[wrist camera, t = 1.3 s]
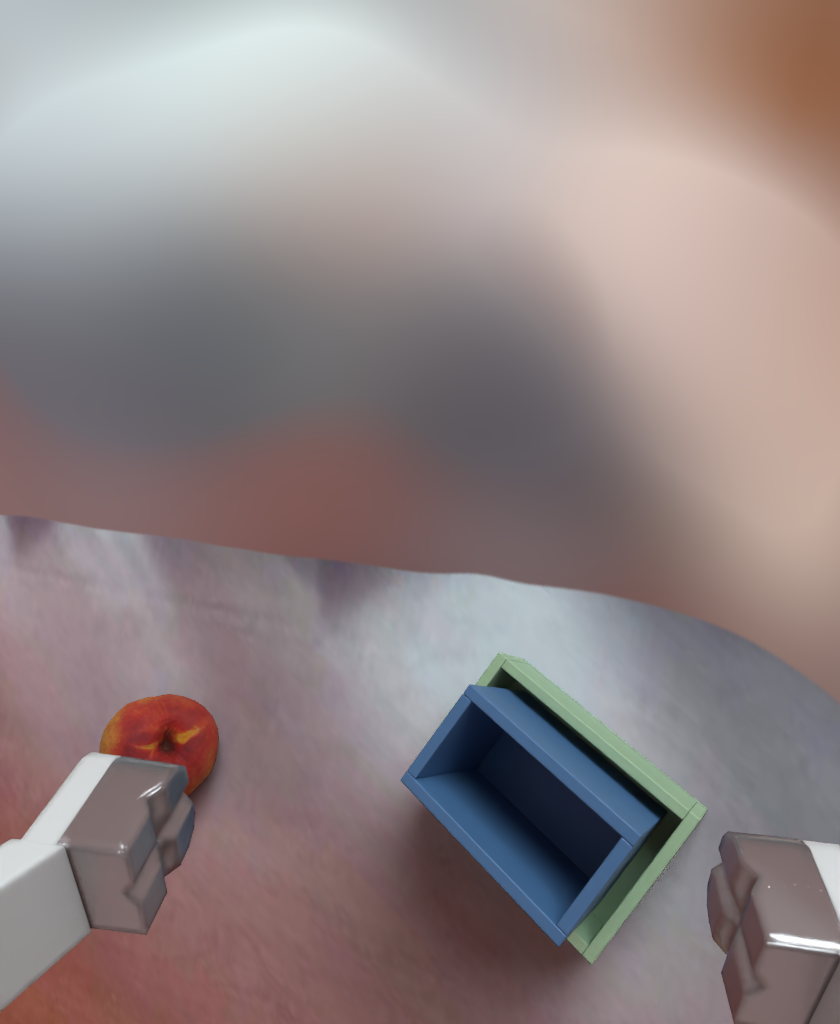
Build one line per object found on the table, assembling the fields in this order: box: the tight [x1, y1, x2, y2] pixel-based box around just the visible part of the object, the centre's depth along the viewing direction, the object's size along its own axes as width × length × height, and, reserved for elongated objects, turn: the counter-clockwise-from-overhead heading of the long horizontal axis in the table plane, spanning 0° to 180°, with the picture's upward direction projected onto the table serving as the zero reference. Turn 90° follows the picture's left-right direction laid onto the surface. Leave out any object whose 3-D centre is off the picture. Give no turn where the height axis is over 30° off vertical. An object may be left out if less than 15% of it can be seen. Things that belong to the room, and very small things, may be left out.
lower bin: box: [476, 653, 707, 964], centre depth 38 cm, size 13×9×5 cm
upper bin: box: [401, 684, 667, 947], centre depth 36 cm, size 10×6×9 cm, turn 50°
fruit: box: [99, 694, 219, 796], centre depth 49 cm, size 8×8×8 cm
